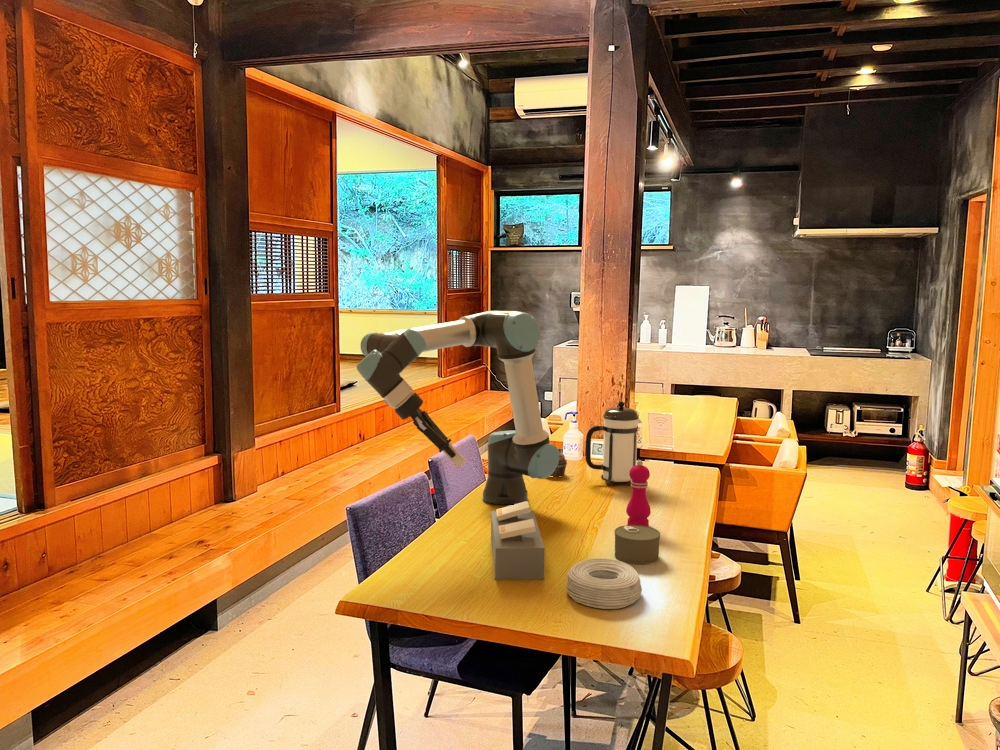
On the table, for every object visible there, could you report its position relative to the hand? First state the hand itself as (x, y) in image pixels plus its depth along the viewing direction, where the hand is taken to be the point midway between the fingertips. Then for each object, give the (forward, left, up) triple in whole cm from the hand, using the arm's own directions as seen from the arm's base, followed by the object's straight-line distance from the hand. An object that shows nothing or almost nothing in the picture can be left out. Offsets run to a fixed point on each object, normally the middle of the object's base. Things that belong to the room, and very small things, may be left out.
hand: (462, 463), depth 203 cm
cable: (+47, +6, -24) cm, 53 cm away
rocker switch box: (+14, +7, -23) cm, 28 cm away
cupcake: (-38, +74, -23) cm, 86 cm away
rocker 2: (+22, +1, -14) cm, 26 cm away
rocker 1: (+10, +10, -14) cm, 20 cm away
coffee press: (-16, +84, -23) cm, 88 cm away
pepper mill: (+20, +52, -23) cm, 60 cm away
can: (+36, +31, -24) cm, 53 cm away
